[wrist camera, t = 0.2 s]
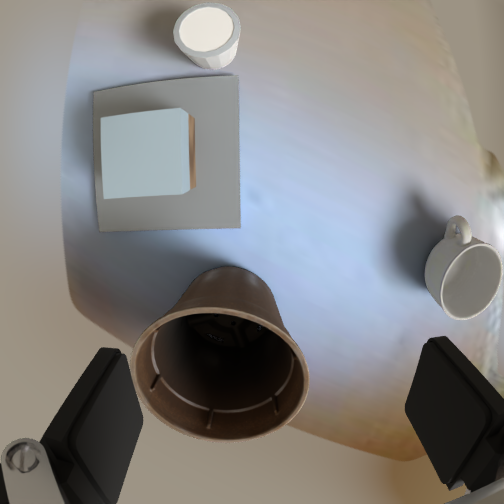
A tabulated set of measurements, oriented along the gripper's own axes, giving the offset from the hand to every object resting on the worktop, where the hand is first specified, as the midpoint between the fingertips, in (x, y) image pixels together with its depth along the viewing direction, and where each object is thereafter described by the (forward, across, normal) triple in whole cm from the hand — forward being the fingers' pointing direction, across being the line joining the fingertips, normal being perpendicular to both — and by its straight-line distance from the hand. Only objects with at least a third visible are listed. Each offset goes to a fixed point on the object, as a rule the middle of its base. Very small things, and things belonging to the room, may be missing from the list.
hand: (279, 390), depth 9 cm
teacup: (+31, -27, +6) cm, 41 cm away
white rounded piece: (+31, +5, -21) cm, 37 cm away
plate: (+31, +11, -8) cm, 33 cm away
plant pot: (+31, +4, +12) cm, 34 cm away
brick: (+25, +11, -8) cm, 29 cm away
